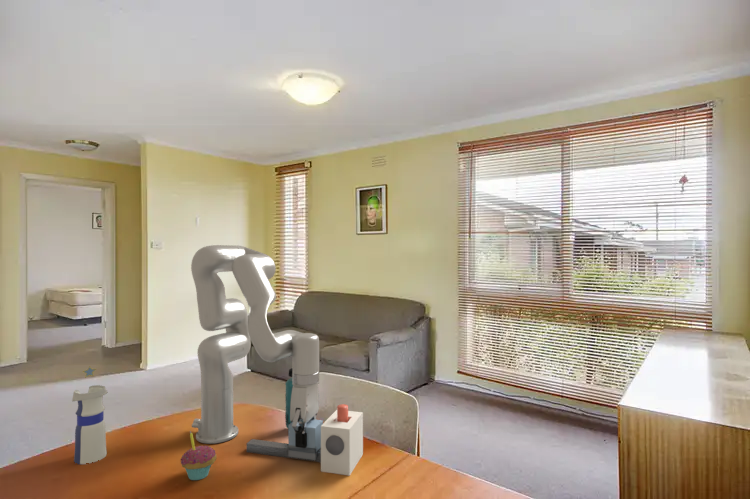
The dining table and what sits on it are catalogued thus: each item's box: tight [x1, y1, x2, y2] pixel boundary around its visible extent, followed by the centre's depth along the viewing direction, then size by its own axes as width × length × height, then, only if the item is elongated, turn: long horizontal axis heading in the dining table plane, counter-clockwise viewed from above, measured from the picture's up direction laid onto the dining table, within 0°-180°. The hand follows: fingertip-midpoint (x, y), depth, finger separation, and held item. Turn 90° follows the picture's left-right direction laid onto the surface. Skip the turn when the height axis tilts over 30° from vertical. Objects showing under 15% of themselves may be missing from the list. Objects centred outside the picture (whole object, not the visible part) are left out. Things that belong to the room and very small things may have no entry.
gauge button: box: [336, 403, 349, 422], centre depth 118 cm, size 3×3×7 cm
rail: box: [245, 438, 321, 463], centre depth 122 cm, size 25×3×2 cm, turn 75°
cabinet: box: [320, 409, 364, 476], centre depth 118 cm, size 8×12×12 cm, turn 165°
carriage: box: [287, 419, 324, 460], centre depth 121 cm, size 8×6×9 cm
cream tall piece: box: [71, 366, 108, 465], centre depth 121 cm, size 8×8×25 cm
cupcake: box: [180, 430, 217, 481], centre depth 111 cm, size 9×8×12 cm
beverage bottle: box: [284, 368, 293, 429], centre depth 139 cm, size 6×7×20 cm
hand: (305, 441), depth 121 cm, fingers closed on carriage, 5 cm apart
